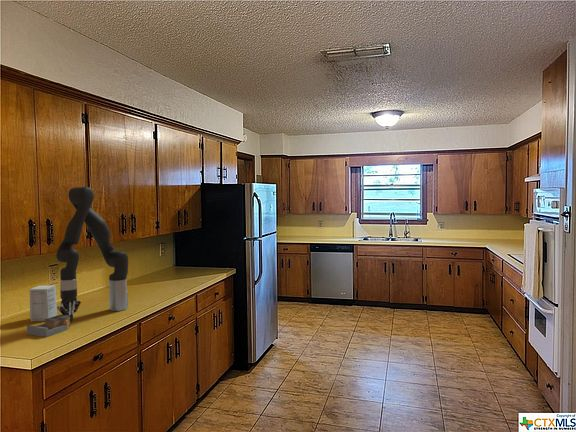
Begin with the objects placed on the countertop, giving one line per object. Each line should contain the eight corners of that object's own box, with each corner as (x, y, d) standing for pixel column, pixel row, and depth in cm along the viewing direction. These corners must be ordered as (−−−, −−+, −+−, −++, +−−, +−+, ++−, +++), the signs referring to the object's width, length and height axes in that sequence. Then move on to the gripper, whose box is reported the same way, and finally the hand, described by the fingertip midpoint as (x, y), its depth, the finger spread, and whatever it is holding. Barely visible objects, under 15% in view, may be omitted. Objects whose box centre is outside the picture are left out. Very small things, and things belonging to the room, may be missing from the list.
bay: (49, 326, 210) (49, 317, 210) (69, 329, 206) (68, 320, 206) (27, 334, 198) (26, 325, 198) (46, 337, 194) (46, 327, 194)
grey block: (61, 325, 212) (60, 314, 211) (70, 326, 210) (70, 315, 209) (45, 330, 203) (44, 319, 203) (54, 332, 201) (54, 320, 201)
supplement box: (57, 316, 228) (56, 285, 228) (48, 321, 219) (47, 288, 218) (39, 316, 228) (38, 285, 227) (29, 321, 219) (28, 289, 218)
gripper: (73, 285, 220) (74, 317, 221) (51, 290, 208) (52, 325, 209) (84, 285, 218) (85, 319, 219) (63, 291, 205) (64, 326, 206)
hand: (69, 322), depth 214 cm, fingers closed
